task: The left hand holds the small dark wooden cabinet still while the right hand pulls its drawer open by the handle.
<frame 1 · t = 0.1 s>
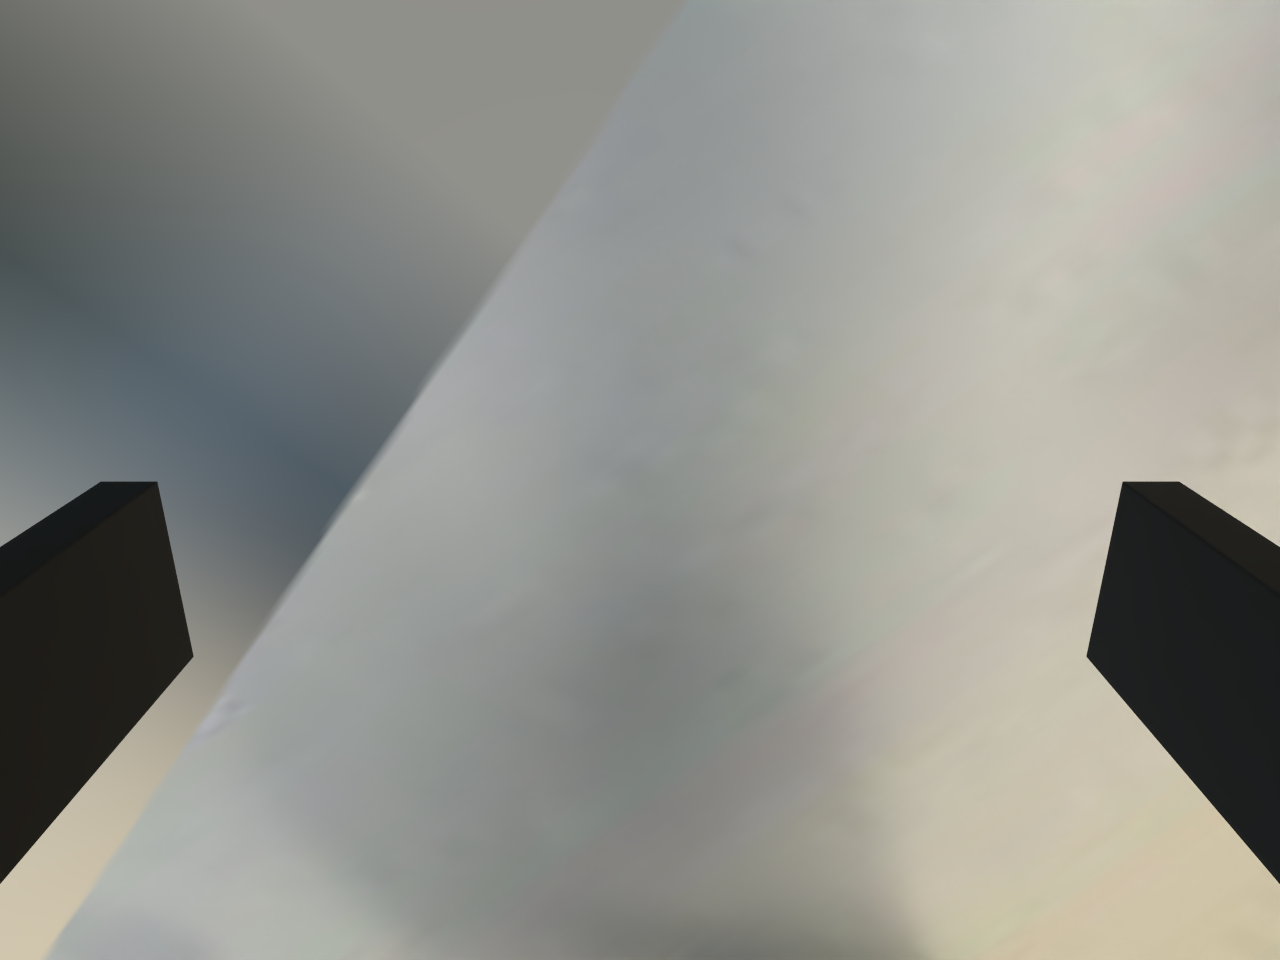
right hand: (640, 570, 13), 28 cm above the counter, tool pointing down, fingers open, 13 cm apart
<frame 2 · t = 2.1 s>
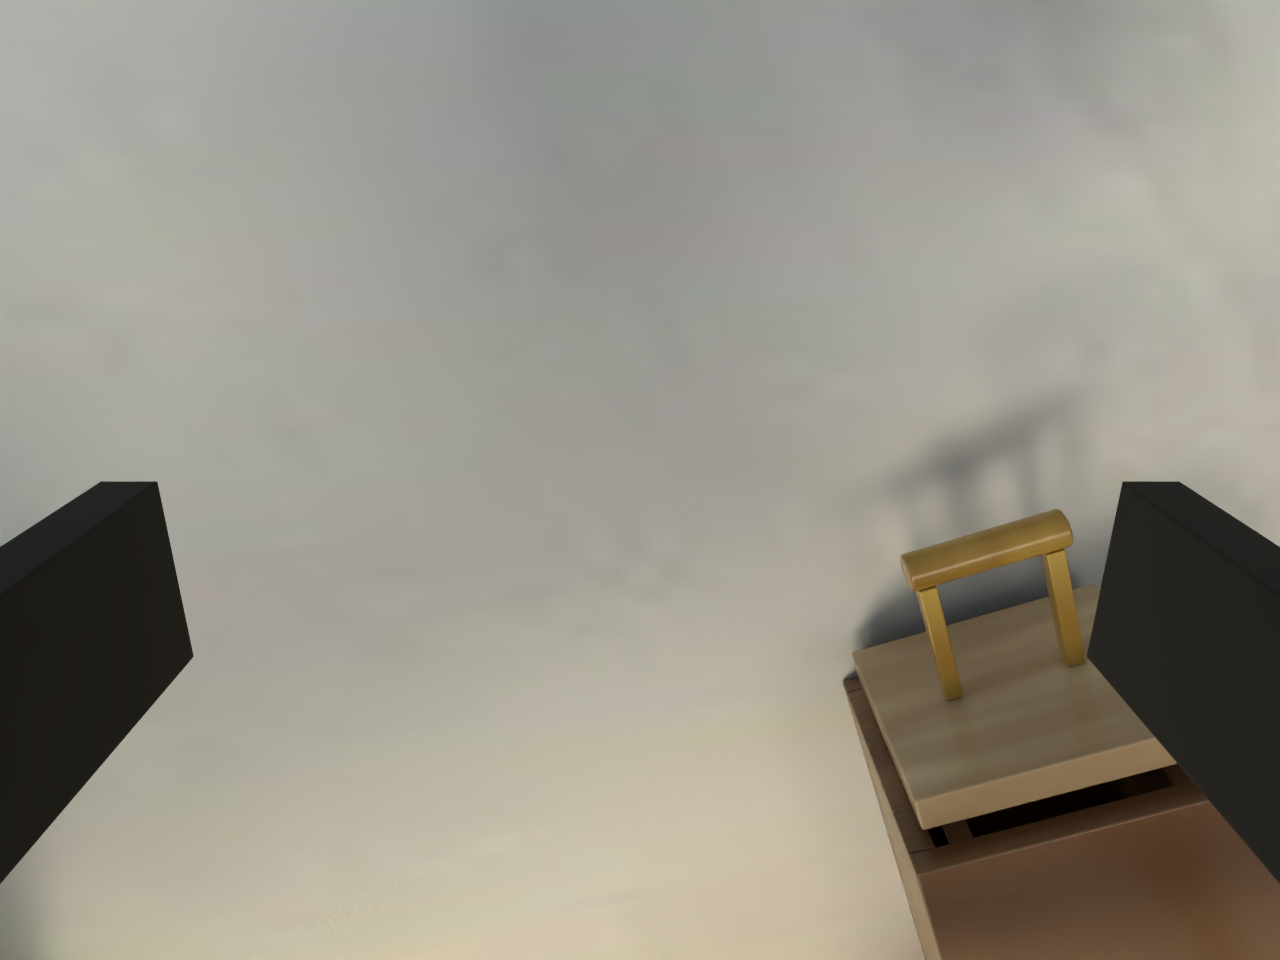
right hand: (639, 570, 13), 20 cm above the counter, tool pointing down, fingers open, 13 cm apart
drawer: (1046, 828, 33), point 5 cm above the counter, slide at 0.6 cm
cabinet: (1015, 834, 39), on the counter
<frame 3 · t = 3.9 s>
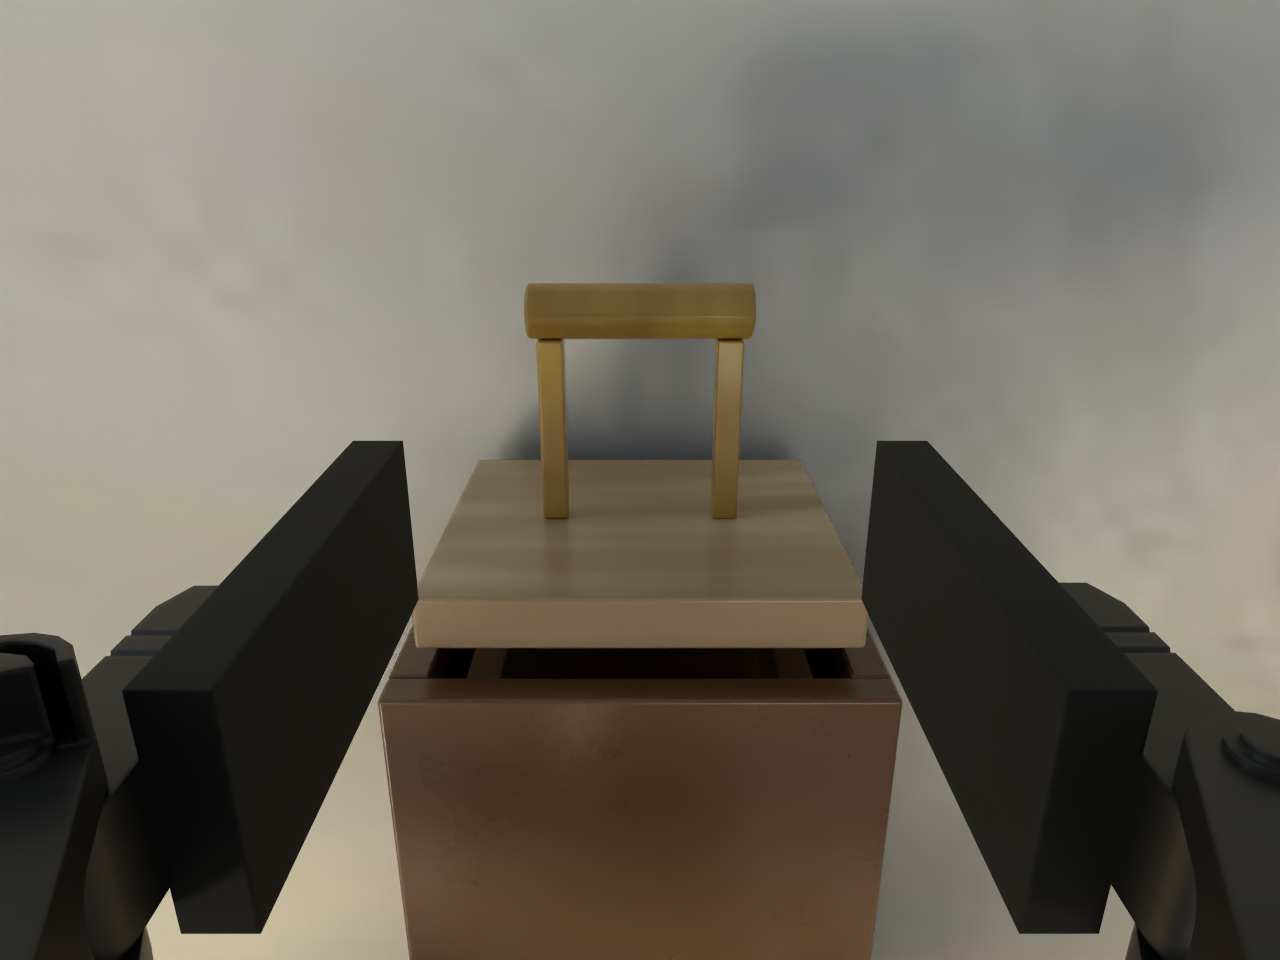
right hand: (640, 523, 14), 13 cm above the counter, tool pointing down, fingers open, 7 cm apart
drawer: (640, 740, 24), point 5 cm above the counter, slide at 0.6 cm
cabinet: (639, 771, 31), on the counter, touching left hand
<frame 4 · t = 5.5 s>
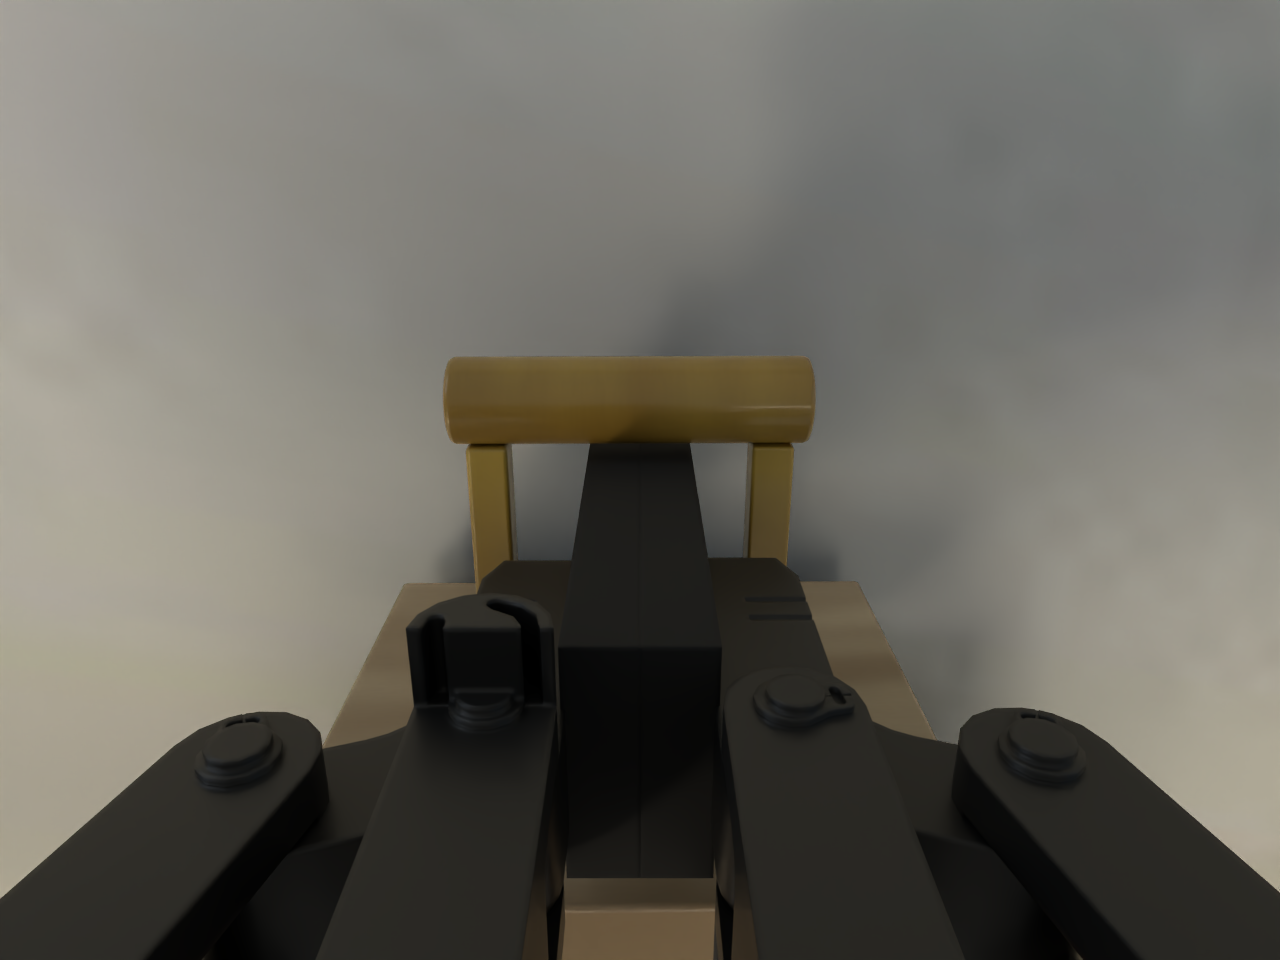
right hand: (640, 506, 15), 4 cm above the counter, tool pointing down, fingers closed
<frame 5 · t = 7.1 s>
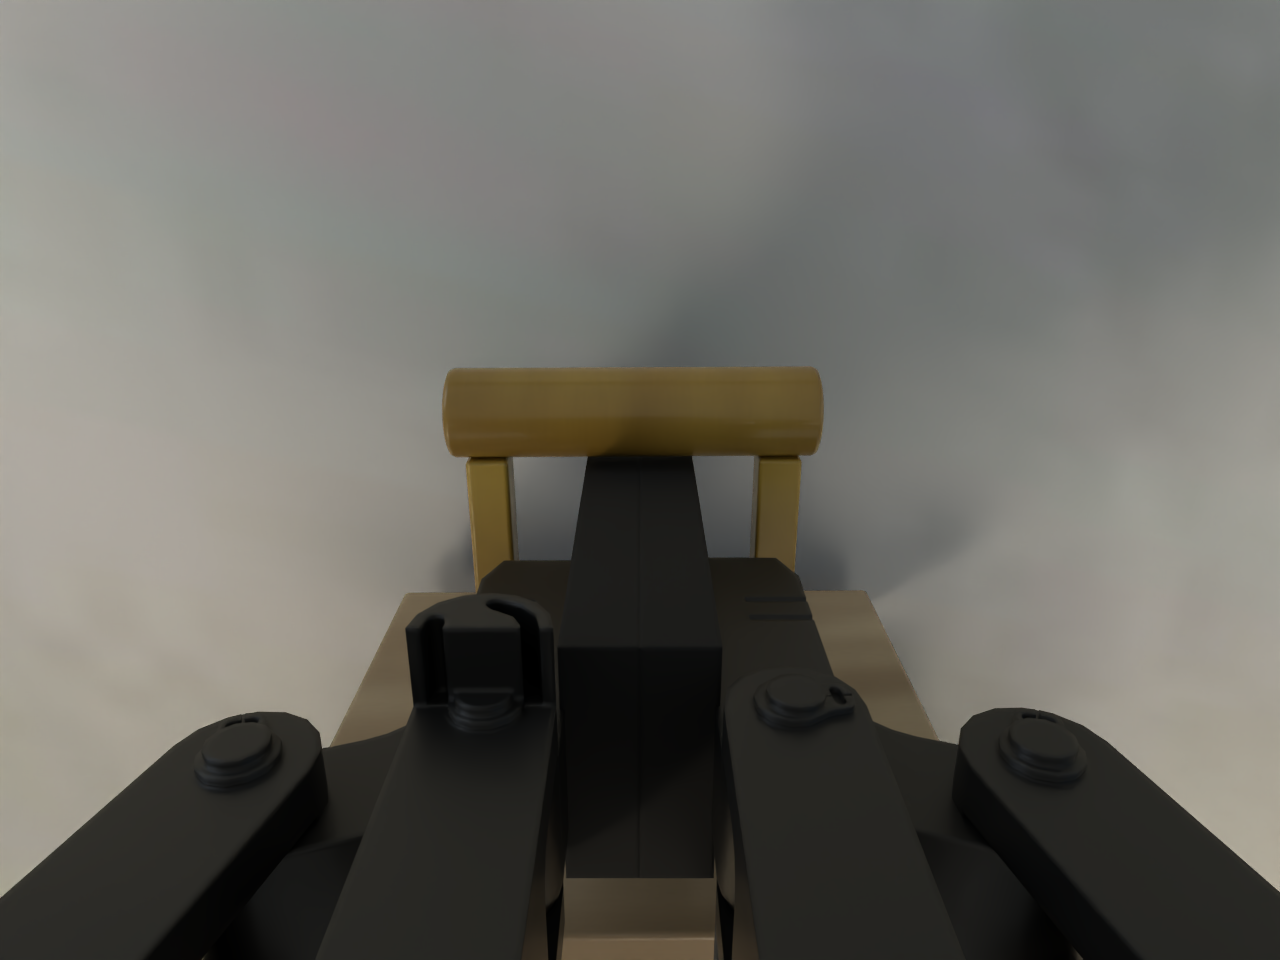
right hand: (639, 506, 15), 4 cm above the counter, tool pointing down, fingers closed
when the left hand's fingers open (5 cm above the counter, at t = 9.1 s): cabinet stays where it is, on the counter.
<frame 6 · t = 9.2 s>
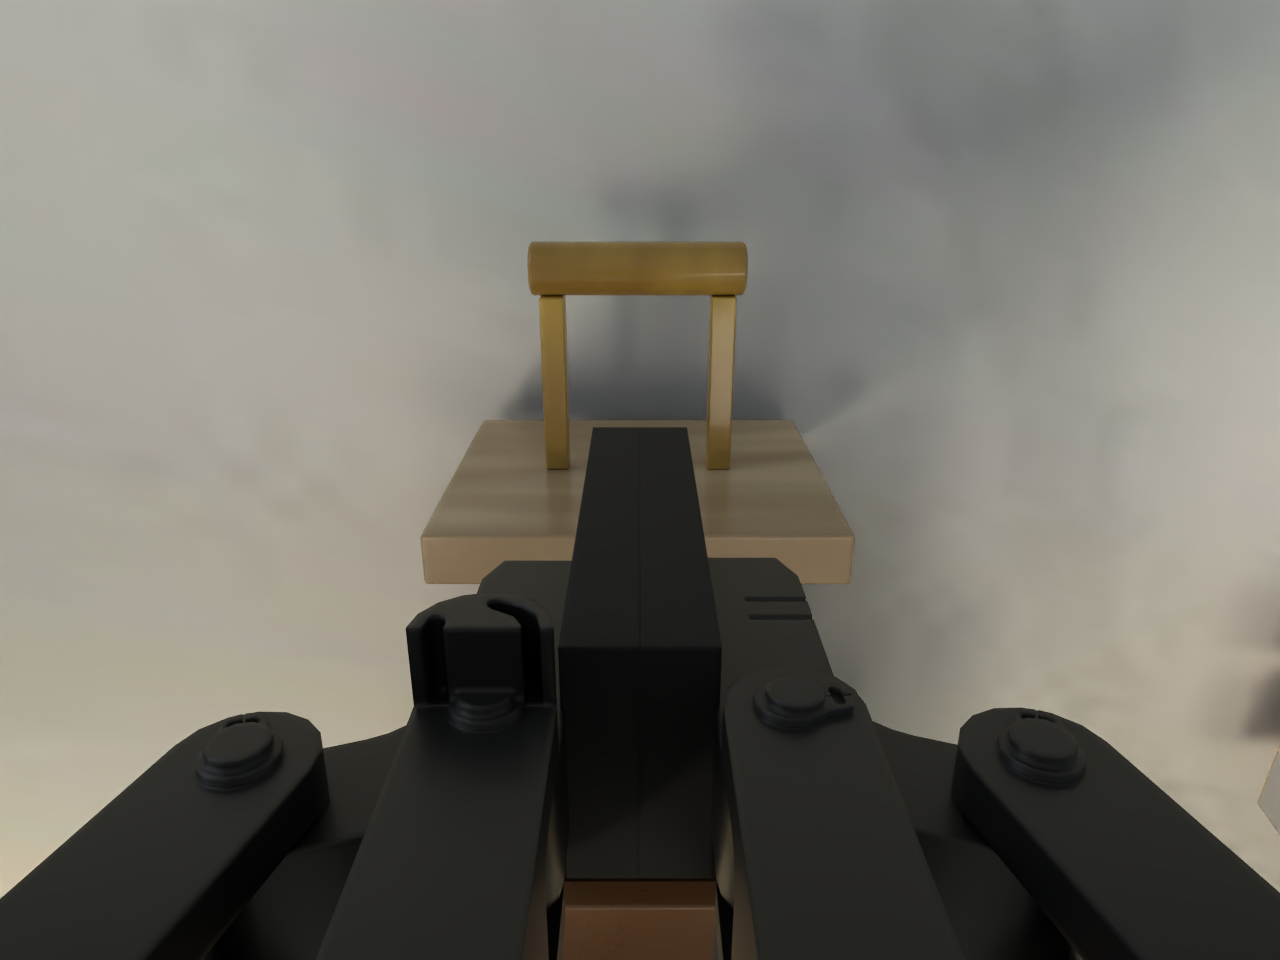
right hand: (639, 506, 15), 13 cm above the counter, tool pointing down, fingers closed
drawer: (638, 687, 26), point 5 cm above the counter, slide at 8.2 cm
cabinet: (638, 892, 35), on the counter
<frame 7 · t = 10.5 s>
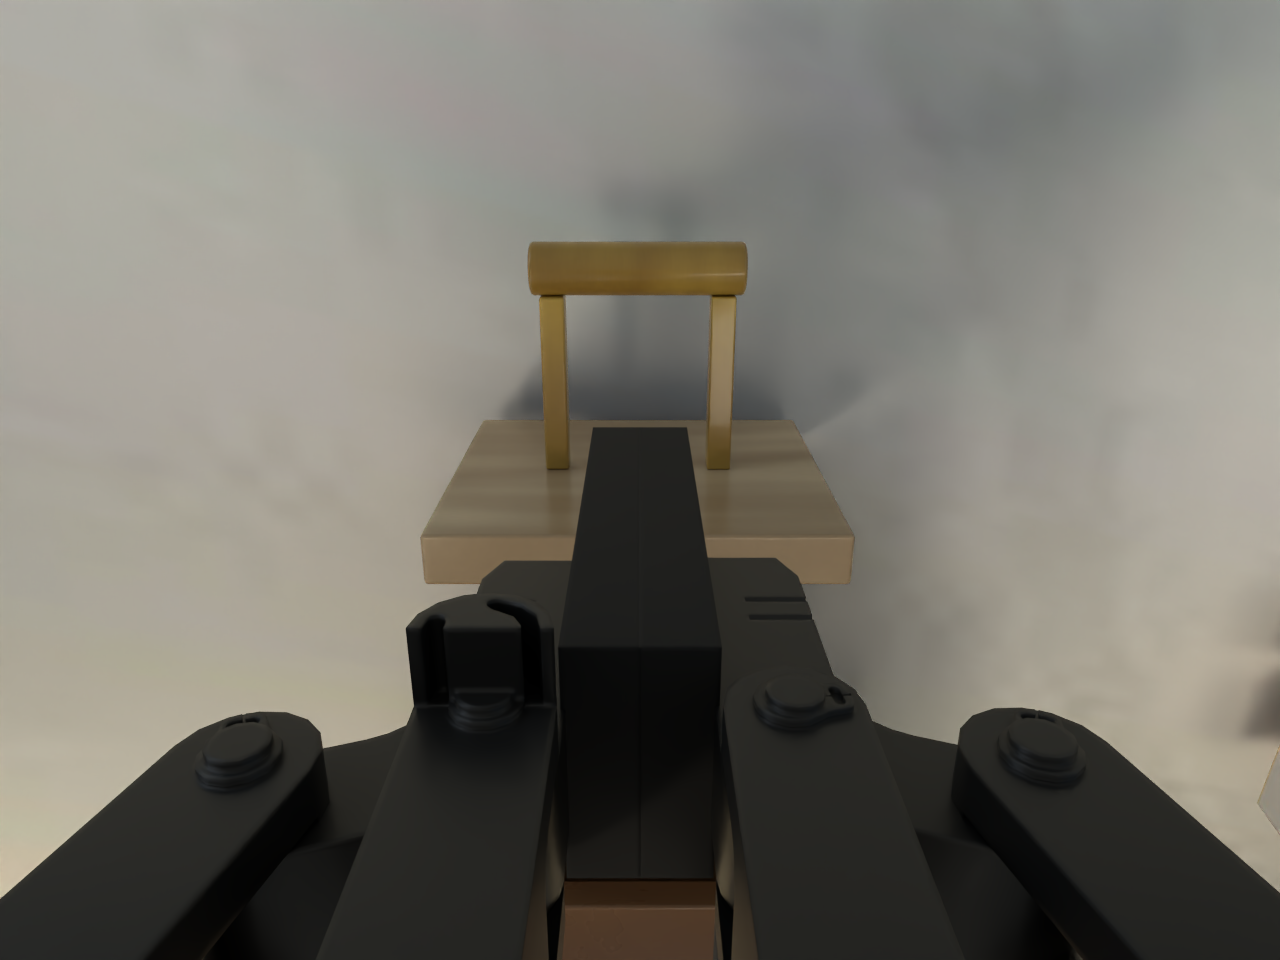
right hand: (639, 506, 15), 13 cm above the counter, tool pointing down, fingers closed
drawer: (638, 687, 26), point 5 cm above the counter, slide at 8.2 cm
cabinet: (638, 892, 35), on the counter
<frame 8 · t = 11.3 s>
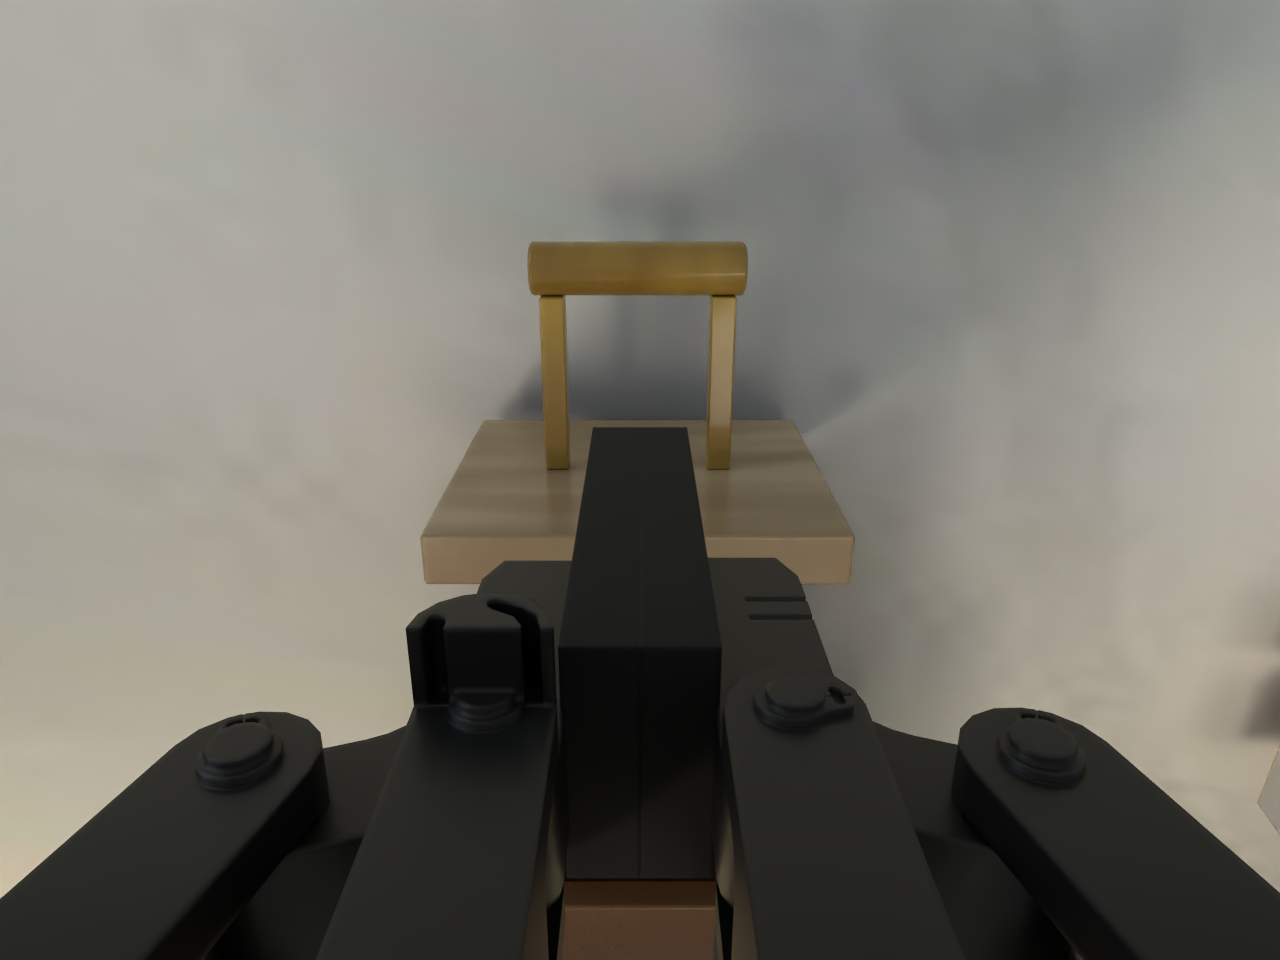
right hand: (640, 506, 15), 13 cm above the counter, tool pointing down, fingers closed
drawer: (638, 687, 26), point 5 cm above the counter, slide at 8.2 cm
cabinet: (638, 892, 35), on the counter
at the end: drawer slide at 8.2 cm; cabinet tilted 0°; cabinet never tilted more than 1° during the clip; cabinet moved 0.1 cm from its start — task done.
